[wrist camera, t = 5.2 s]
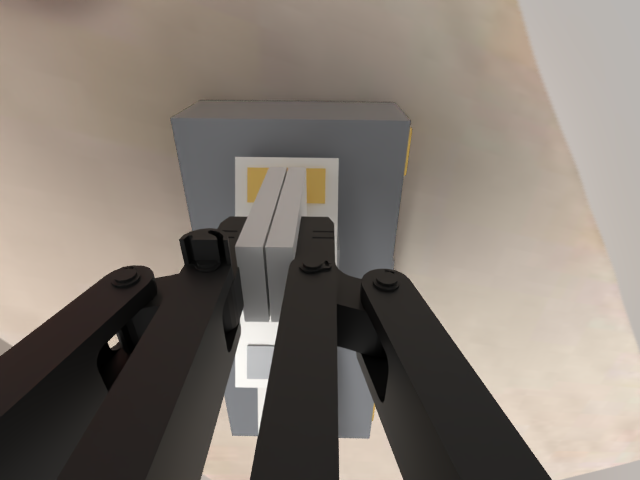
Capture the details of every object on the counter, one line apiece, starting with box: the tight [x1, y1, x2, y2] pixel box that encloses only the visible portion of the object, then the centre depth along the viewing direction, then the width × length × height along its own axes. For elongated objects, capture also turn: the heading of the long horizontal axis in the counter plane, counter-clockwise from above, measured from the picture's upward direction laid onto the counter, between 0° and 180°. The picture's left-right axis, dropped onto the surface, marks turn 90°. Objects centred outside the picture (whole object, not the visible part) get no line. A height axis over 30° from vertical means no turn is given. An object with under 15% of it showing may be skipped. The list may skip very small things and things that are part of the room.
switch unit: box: [170, 100, 412, 438], centre depth 26 cm, size 27×12×8 cm, turn 0°
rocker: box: [235, 157, 339, 388], centre depth 18 cm, size 11×5×2 cm, turn 0°
